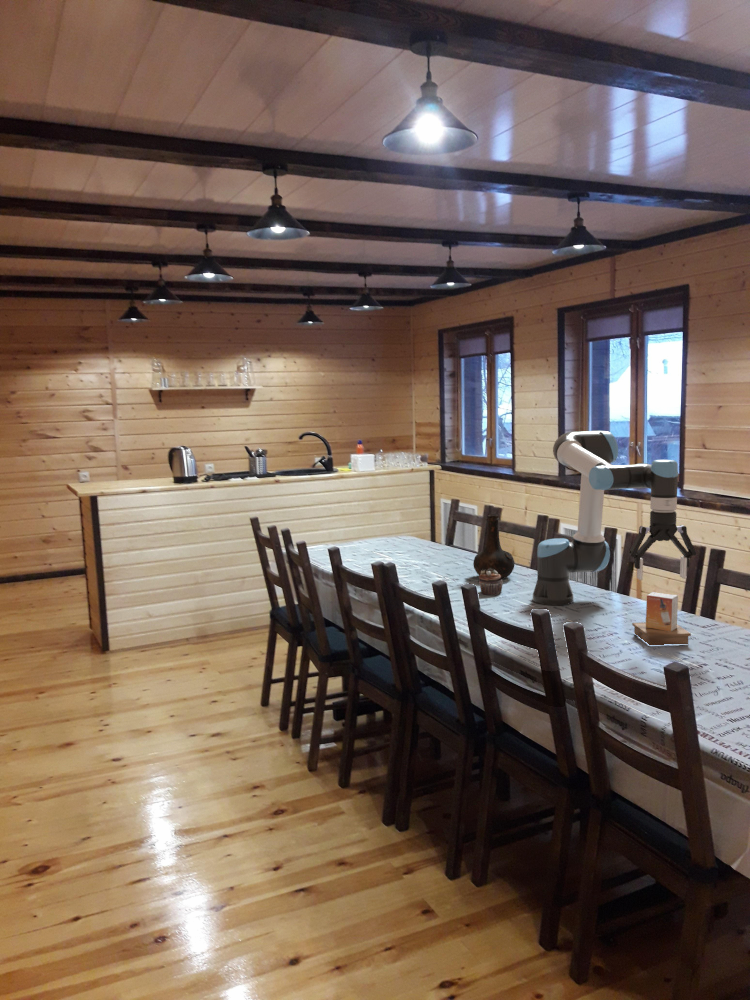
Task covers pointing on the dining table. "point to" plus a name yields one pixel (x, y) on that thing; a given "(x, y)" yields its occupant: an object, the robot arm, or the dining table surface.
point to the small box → (661, 611)
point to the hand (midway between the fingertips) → (661, 578)
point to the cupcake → (490, 582)
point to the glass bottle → (494, 552)
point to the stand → (661, 635)
